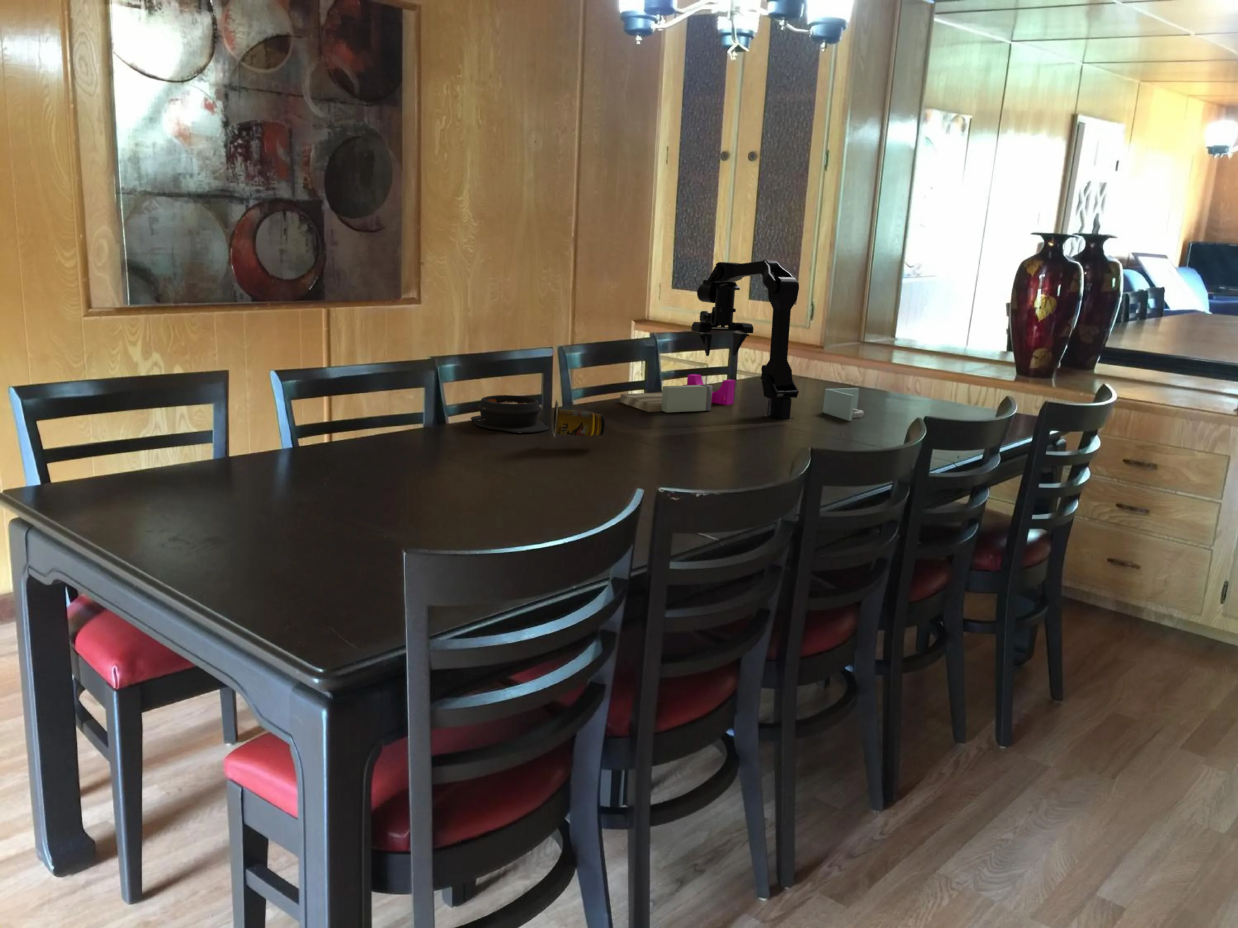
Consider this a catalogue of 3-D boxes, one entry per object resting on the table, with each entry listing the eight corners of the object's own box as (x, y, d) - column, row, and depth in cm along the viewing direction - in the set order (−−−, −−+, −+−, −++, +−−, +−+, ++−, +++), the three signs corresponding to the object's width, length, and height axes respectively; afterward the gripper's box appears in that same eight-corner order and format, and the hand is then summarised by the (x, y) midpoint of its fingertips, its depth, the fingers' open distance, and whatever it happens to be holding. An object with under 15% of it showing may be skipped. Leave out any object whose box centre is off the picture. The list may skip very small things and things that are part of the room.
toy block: (681, 399, 301) (683, 375, 299) (692, 397, 306) (694, 374, 304) (722, 406, 292) (724, 381, 290) (733, 404, 297) (735, 380, 295)
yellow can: (554, 438, 231) (604, 441, 234) (557, 402, 230) (607, 406, 232) (551, 432, 238) (599, 435, 241) (554, 398, 237) (602, 401, 239)
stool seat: (706, 409, 284) (707, 400, 284) (648, 411, 274) (648, 403, 274) (676, 400, 298) (677, 392, 297) (620, 402, 288) (620, 394, 287)
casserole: (453, 425, 262) (454, 394, 260) (510, 419, 274) (511, 390, 272) (507, 442, 244) (508, 409, 242) (565, 435, 256) (566, 404, 254)
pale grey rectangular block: (706, 408, 284) (708, 384, 282) (712, 410, 281) (714, 386, 279) (660, 410, 276) (662, 386, 274) (667, 412, 273) (668, 387, 272)
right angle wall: (848, 421, 279) (851, 395, 277) (822, 413, 289) (825, 388, 287) (881, 420, 284) (884, 394, 282) (854, 412, 295) (857, 388, 293)
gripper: (737, 303, 304) (734, 353, 308) (684, 301, 297) (681, 352, 300) (756, 306, 294) (752, 357, 298) (701, 304, 287) (698, 357, 290)
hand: (720, 356), depth 297 cm, fingers open, 9 cm apart
